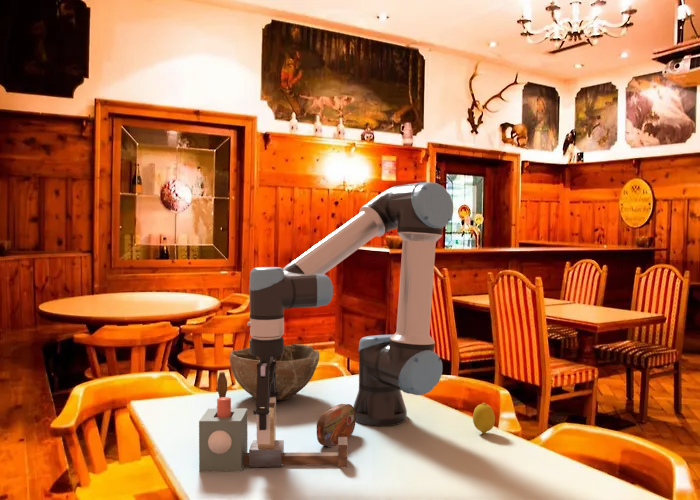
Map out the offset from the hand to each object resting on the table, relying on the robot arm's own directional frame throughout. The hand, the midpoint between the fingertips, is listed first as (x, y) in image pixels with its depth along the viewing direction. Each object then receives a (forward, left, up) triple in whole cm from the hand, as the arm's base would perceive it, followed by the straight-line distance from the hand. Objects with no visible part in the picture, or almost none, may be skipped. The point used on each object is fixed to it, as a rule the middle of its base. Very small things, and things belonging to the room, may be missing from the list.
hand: (266, 434), depth 132 cm
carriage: (0, 0, -7) cm, 7 cm away
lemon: (-54, -19, -7) cm, 57 cm away
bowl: (+4, -51, -7) cm, 52 cm away
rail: (-6, 0, -7) cm, 9 cm away
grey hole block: (+10, 0, -7) cm, 12 cm away
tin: (-16, -14, -7) cm, 22 cm away
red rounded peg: (+10, 0, 0) cm, 10 cm away
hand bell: (+14, -19, -7) cm, 24 cm away
